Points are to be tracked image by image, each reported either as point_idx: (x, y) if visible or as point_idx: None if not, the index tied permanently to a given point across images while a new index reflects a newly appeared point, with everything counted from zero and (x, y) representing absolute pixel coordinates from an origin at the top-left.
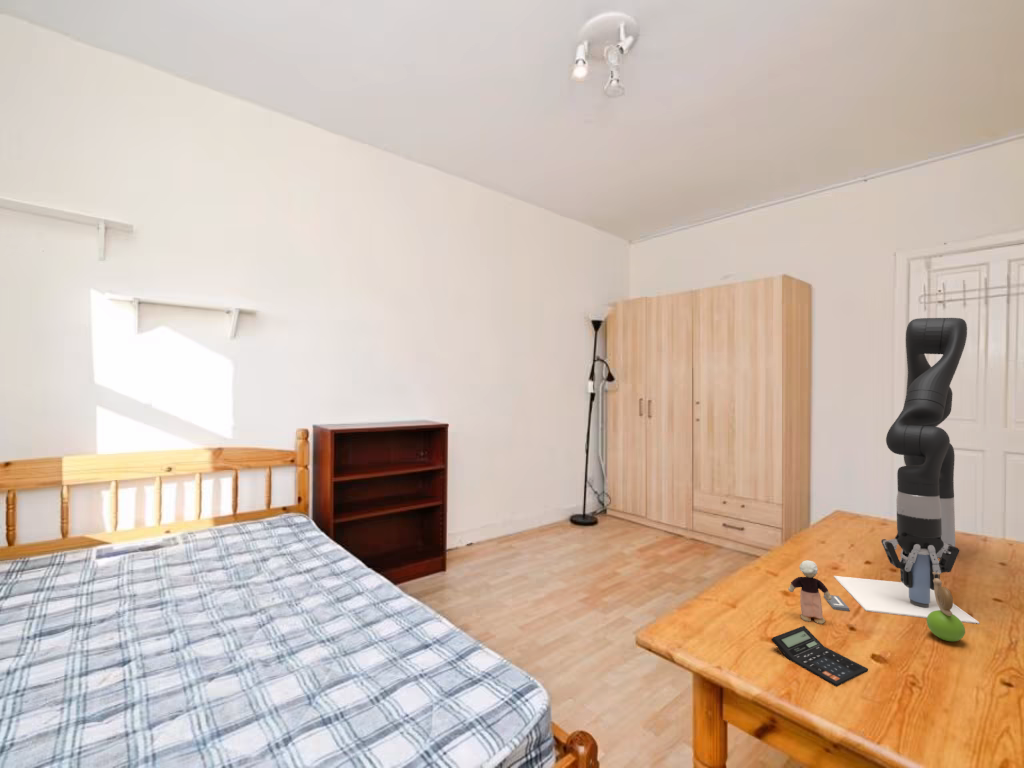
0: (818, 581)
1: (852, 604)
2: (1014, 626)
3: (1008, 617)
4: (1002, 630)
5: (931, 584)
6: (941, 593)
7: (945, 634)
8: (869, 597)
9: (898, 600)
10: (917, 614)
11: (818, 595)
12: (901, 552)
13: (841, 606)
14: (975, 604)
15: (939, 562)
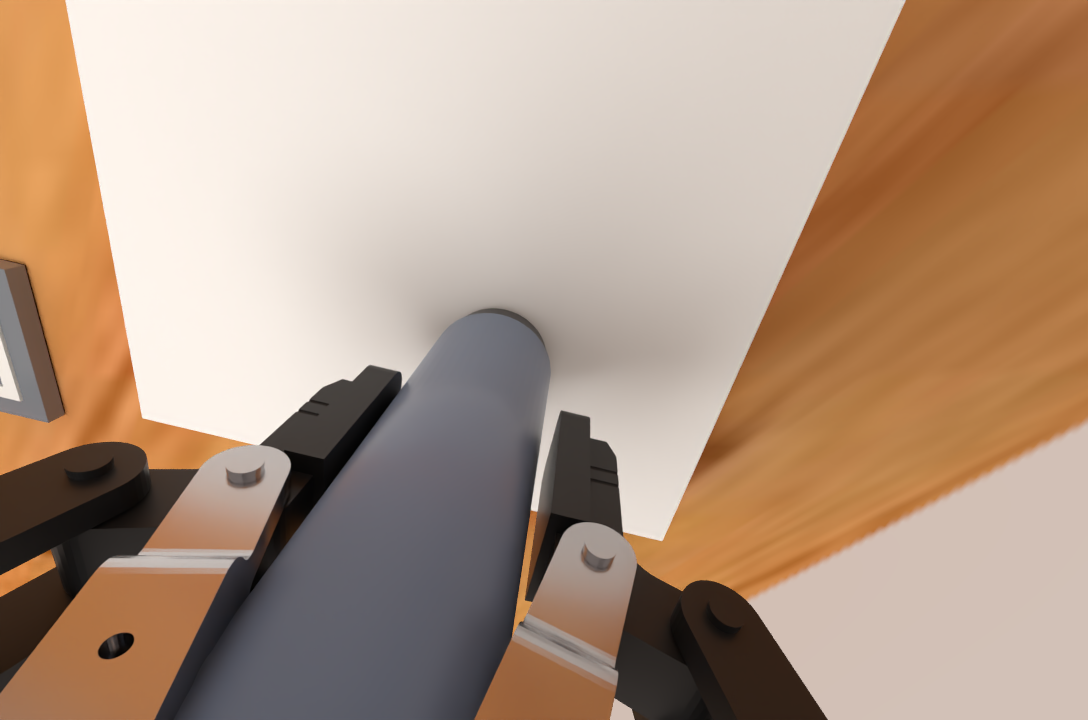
0: None
1: (96, 340)
2: (826, 555)
3: (925, 482)
4: (714, 579)
5: (544, 480)
6: None
7: None
8: (213, 267)
9: (391, 305)
10: None
11: None
12: (62, 624)
13: (11, 402)
14: (928, 329)
15: (700, 678)
